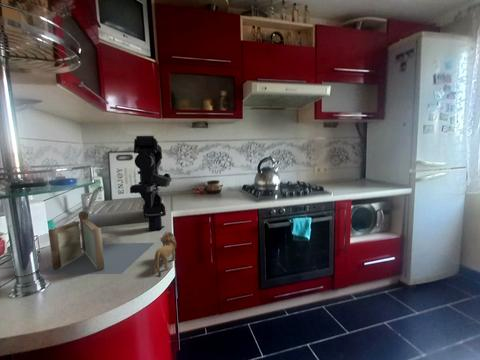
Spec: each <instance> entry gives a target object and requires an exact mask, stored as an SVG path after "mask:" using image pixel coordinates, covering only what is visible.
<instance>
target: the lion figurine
mask: <svg viewBox="0 0 480 360" xmlns="http://www.w3.org/2000/svg"><path fill="white" fill-rule="evenodd" d="M159 240H160V242H161V243H162V247H160V248H158V249H157V250H156V251H155V255H154V265H153V267H152V268H153V269H152V270H153V275H157V274H158V277H161V276H162V272H161V271H160V270H161V269H160V266H159V263H160V260H161V261H162V262H163V264H164V265H163V266H164V267H163V268H164V269H165V270H167V271H169V270H170V269H171V267H170V266H169V267H168V262H169V261H168V260H169V257H170V256H171V261H173V262H175V261H176V249H177V241H176V237H175V235H174V233H172V232H171V231H165V232H164V234H163V235H162V237H160V239H159Z"/></svg>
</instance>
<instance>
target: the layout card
mask: <svg viewBox="0 0 480 360" xmlns="http://www.w3.org/2000/svg"><path fill="white" fill-rule="evenodd" d="M102 244H103V255H104V265H105V268H104V269H101V270H97V266H96V265H95V263H94V262H93V260H92V259H91V258H90V256H89V255H88V254H87V252H83V246H81V251H82V255H80V256H78V257H77V258H75V259H73V260H72V261H70V262H68V263H67V264H65V265H63V266H62V267H61V268H59V269H57V270H53V264H52V263H51V264H49V265H48V266H45V268H42V269H41V270H39V271H40V274H39V275H88V274H89V275H95V274H96V275H116V274H117V275H118V274H119V275H122V274H123V273H124V272H125V271H127V270H128V269H129V268H130V267H131V266H132V265H133V264H134V263H135V262H137V260H138V259H140V258H141V256H143V254H145V253H146V252H147V251H148V250H149V249H150V248H151V247H152V246H154V244H155V242H117V243H116V242H113V243H111V242H109V243H108V242H107V243H106V242H105V243H104V242H102Z"/></svg>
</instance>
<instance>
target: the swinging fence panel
mask: <svg viewBox="0 0 480 360" xmlns="http://www.w3.org/2000/svg"><path fill="white" fill-rule="evenodd" d="M82 223H83V229H84V239H85V249H86V252H87V254H88V255H89V256H90V258H91V259H92V260H93V262H94V263H95V265H96V266H97V270H101V269H104V268H105V265H104V255H103V244H102V243H103V236H102V228H101V227H98V226H97V225H96V224H94V223H93V222H92V221H91V220H90V219H89V218H88V219H82Z"/></svg>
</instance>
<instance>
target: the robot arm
mask: <svg viewBox="0 0 480 360" xmlns="http://www.w3.org/2000/svg"><path fill="white" fill-rule="evenodd" d="M135 137H136V138H134V141H133V154H137V155H136V156H135V157H134V166H135V167H137V168H138V169H139V171H137V175H139V177H140V179H139V180H140V181H138V183H135V184H132V185H131V186H130V187H129V193H130V194H139V195H140V196H141V198H142V199H143V201H144V203H143V204H142V213H143V218H144V219H147V223H148V224H147V225H148V228H147V229H145V231H146V232H160V231H162V230H163V229H164V228H165V227H166V226H164V225H163V224H162V223H163V221H162V217H165V216H166V206H165V204H164V203H163V200H162V197H161V196H160V195H159V191H160V188H159V187H161V188H163V187H164V188H167V187H169V186H170V184H171V183H170V182H172V177H171V174H169V173H164V174H160V173H159V168H160V166H161V164H162V160H163V150H162V146H160V145H159V144H158V140H157V138H155V135H137V136H135Z"/></svg>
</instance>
